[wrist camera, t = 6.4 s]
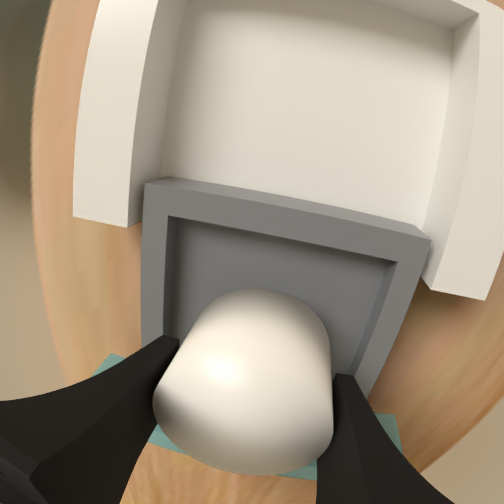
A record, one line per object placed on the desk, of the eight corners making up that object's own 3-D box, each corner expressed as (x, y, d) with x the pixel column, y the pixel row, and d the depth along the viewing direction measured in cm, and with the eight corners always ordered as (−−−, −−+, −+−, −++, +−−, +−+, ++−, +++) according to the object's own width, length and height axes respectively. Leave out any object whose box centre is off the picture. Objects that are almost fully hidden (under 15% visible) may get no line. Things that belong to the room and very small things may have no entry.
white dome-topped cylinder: (353, 367, 11) (363, 449, 8) (245, 412, 13) (226, 484, 9) (279, 260, 10) (262, 327, 7) (167, 327, 12) (120, 393, 8)
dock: (151, -16, 11) (115, -45, 7) (491, 44, 9) (532, 27, 6) (118, 199, 14) (73, 216, 11) (452, 266, 13) (484, 300, 10)
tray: (107, 168, 13) (43, 183, 9) (473, 241, 11) (523, 280, 7) (114, 367, 17) (78, 412, 13) (385, 426, 15) (394, 483, 11)
